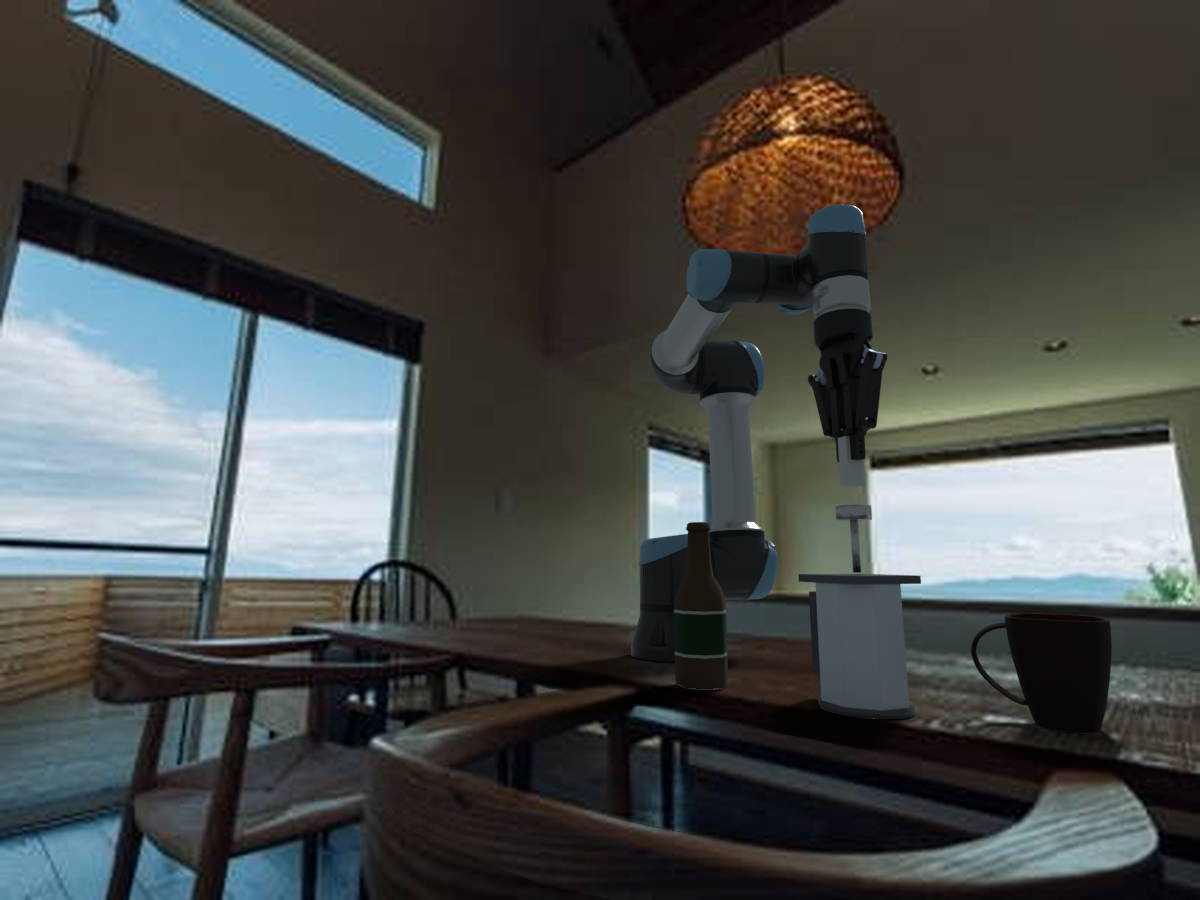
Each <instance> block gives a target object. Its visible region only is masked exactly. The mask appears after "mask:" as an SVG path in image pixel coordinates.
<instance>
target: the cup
mask: <svg viewBox="0 0 1200 900" xmlns="http://www.w3.org/2000/svg"><path fill="white" fill-rule="evenodd" d="M999 629H1006V630H1005V631H1006V635H1007V636H1006V637H1007V641H1008V646H1009V650H1010V653H1011V658H1012V662H1013V666H1014V669H1015V671H1016V676H1017V679H1018V681H1019V685H1020V689H1021V691H1022V695H1023V697H1024V699H1023V698H1021V697H1018V696H1017V695H1014V694H1013V693H1011V692H1010V691H1008V690H1007V689H1005V688H1004V687H1002V686H1001V685H1000V683H998V682H996V681H995V680H994V679H993V677H991V676H990V675H989V674H988V673H987V671H986V670H985V669H984V667H983V666H982V664H981V662H980V659H979V657H978V655H977V648H978V644H979V641H980V639H981V638H982V637H983V636H985V635H986V634H987V633H989V632H992V631H994V630H999ZM1112 645H1113V644H1112V627H1111V621H1110V619H1109V618H1106V617H1103V616H1102V617H1100V616H1092V615H1078V614H1077V615H1074V614H1057V613H1056V614H1055V613H1054V614H1053V613H1026V612H1025V613H1023V612H1022V613H1021V612H1018V613H1017V612H1016V613H1009V614H1008V613H1007V614H1005V615H1004V622H997V623H991V624H990V625H988V626H985V627H983V628H982V629H980V630H979V631H978V632H976V634H975V636H974V637H973V638H972V643H971V647H970V654H971V659H972V661H973V663H974V666H975V667H976V669H977V671H978V673H979V674H980V675H981V676H982V678H983V679H984V680H985V681H986V682H987V683H988V684H989V685H990V686H991V687H992V688H993V689H994V690H996V691H998V692H999V693H1000V694H1001V695H1003V696H1004V697H1006V698H1007V699H1009V700H1010V701H1012V702H1014V703H1016V704H1018V705H1021V706H1027V708H1028V709H1029V710H1028V711H1029V712H1030V714H1031V717H1032V720H1033V721H1034V723H1035V724H1036V725H1037V726H1038V727H1039V728H1041V729H1046V730H1052V731H1058V732H1065V733H1074V734H1084V735H1094V734H1095V735H1096V734H1097V733H1099V732H1100V731H1101V729H1102V726H1103V723H1104V718H1105V714H1106V710H1107V705H1108V698H1109V690H1110V688H1109V687H1110V680H1111V670H1112V657H1113V655H1112V654H1113V653H1112V651H1113V647H1112Z"/></svg>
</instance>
